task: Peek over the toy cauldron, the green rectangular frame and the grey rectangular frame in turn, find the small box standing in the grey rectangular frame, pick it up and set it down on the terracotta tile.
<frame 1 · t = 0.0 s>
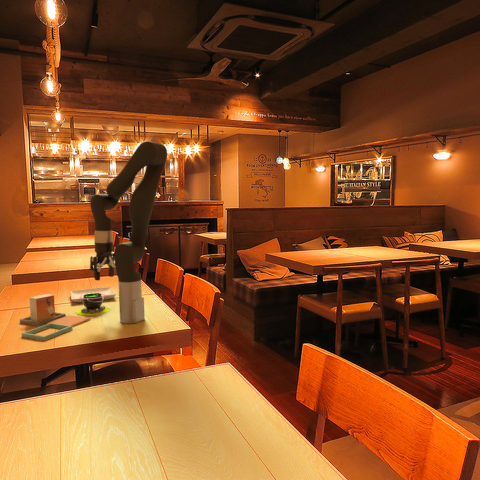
hand: (104, 278, 173), 17 cm above the table, tool pointing down, fingers open, 8 cm apart
green rectangular frame: (47, 333, 155), on the table
small box: (43, 320, 172), resting in grey rectangular frame
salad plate: (92, 298, 210), on the table
grey rectangular frame: (43, 320, 172), on the table
terracotta tile: (69, 322, 168), on the table
toy cauldron: (93, 311, 185), on the table
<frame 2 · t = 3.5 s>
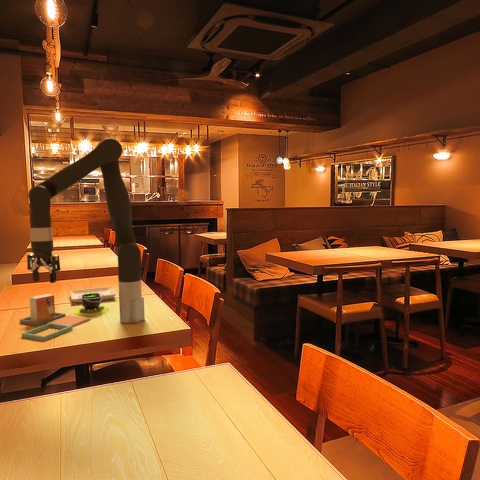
hand: (44, 281, 152), 20 cm above the table, tool pointing down, fingers open, 8 cm apart
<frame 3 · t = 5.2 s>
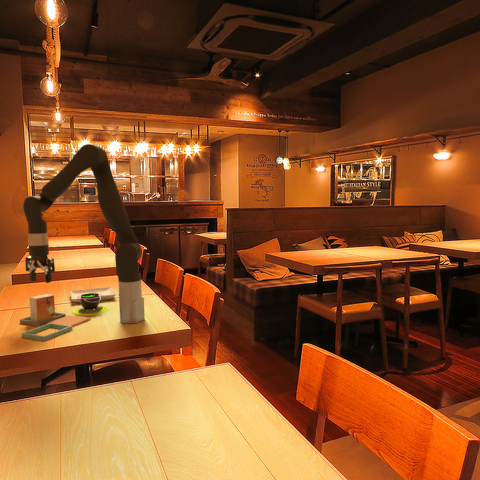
hand: (40, 281, 170), 17 cm above the table, tool pointing down, fingers open, 8 cm apart
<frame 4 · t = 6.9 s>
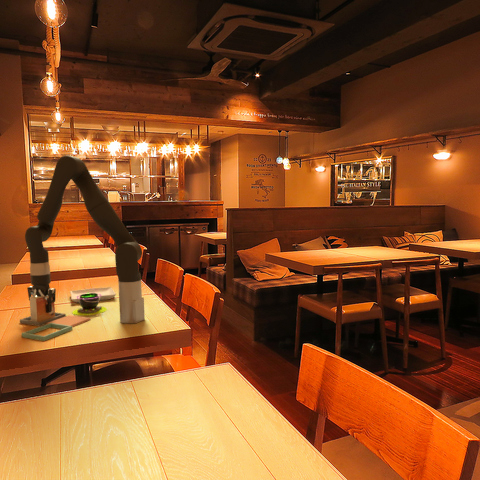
hand: (42, 311, 171), 4 cm above the table, tool pointing down, fingers closed on small box, 6 cm apart
small box: (43, 320, 172), resting in grey rectangular frame, touching gripper
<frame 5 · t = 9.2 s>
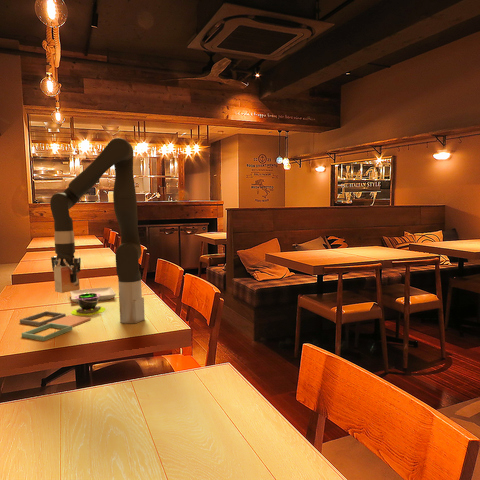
hand: (67, 281, 166), 17 cm above the table, tool pointing down, fingers closed on small box, 6 cm apart
small box: (67, 291, 167), point 13 cm above the table, touching gripper
when the fingers open (6 cm above the table, at t = 11.8 s): small box drops 1 cm, resting on terracotta tile.
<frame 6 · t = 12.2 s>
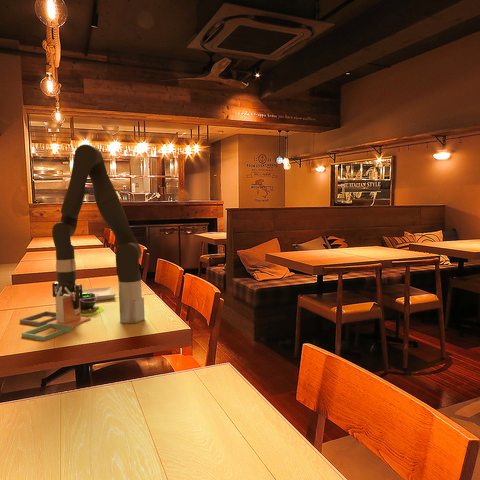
hand: (68, 308, 167), 6 cm above the table, tool pointing down, fingers open, 8 cm apart
small box: (69, 320, 168), point 1 cm above the table, touching terracotta tile
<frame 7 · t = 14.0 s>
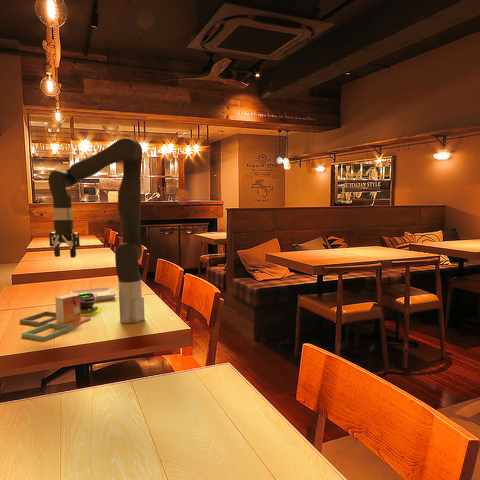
hand: (65, 257, 170), 27 cm above the table, tool pointing down, fingers open, 8 cm apart
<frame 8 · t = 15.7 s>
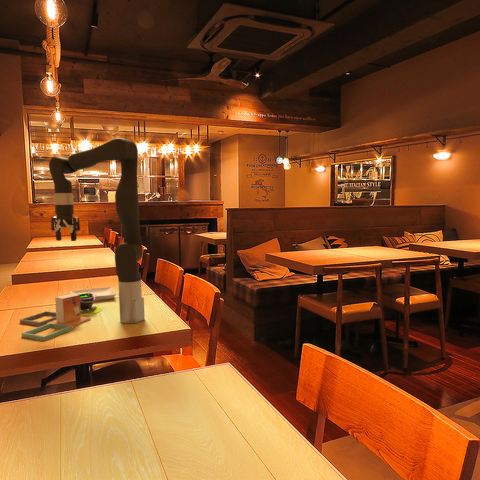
hand: (66, 240, 177), 33 cm above the table, tool pointing down, fingers open, 8 cm apart
at the end: small box inside the target area on the terracotta tile (0.0 cm from its centre), point 0.6 cm above the terracotta tile's base; small box tilted 0°; the gripper is holding nothing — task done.
